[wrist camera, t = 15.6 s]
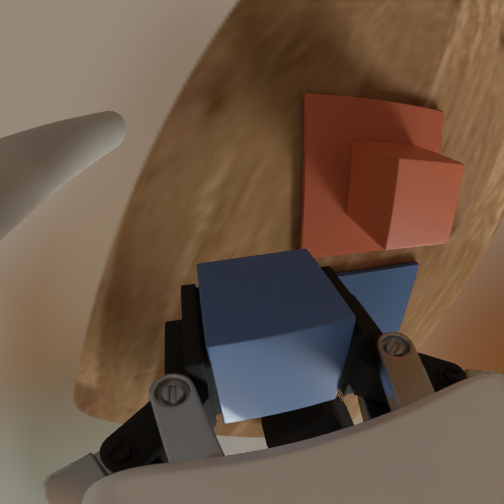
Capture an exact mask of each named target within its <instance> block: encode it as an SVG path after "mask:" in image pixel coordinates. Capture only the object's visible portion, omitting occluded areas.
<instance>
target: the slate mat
mask: <svg viewBox="0 0 504 504" xmlns="http://www.w3.org/2000/svg"><path fill="white" fill-rule="evenodd" d="M418 266H419V264H418V263H417V262H409V263H403V264H397V265H390V266H383V267H377V268H370V269H363V270H356V271H349V272H342V273H336V275H337V276H338V277H339V279H340V280H341V281H342V283H343V284H344V285H345V286H346V288H347V289H348V290H349V292H350V293H351V294H353V295H354V296H355V297H356V298H357V299H358V301H359V302H360V303H361V305H362V306H363V307H364V309H365V310H366V311H367V313H368V314H369V315H370V317H371V318H372V319H373V321H374V322H375V323H376V325H377V326H378V327H379V329H380V330H381V331H382V333H383V334H384V333H387V332H398V330H399V327H400V325H401V322H402V319H403V316H404V313H405V310H406V307H407V304H408V300H409V297H410V294H411V291H412V287H413V284H414V280H415V277H416V273H417V269H418Z"/></svg>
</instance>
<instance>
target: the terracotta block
mask: <svg viewBox="0 0 504 504" xmlns="http://www.w3.org/2000/svg"><path fill="white" fill-rule="evenodd" d="M463 168H464V164H463V163H461V162H458V161H456V160H453V159H451V158H448V157H446V156H443V155H440V154H438V153H435V152H432V151H430V150H427V149H424V148H421V147H419V146H416V145H410V144H400V143H389V142H376V141H361V140H353V144H352V159H351V172H350V184H349V194H348V204H347V213H346V214H347V216H348V217H349V218H350V219H351V220H353V221H354V222H355V223H356V224H357V225H358V226H359V227H360V228H361V229H363V230H364V231H365V232H366V233H367V234H368V235H369V236H370V237H371V238H372V239H373V240H374V241H375V242H377V243H378V244H379V245H380V246H381V247H382V248H383V249H384V250H392V249H401V248H410V247H418V246H427V245H435V244H443V243H448V240H449V236H450V232H451V228H452V224H453V220H454V216H455V211H456V207H457V202H458V197H459V192H460V186H461V181H462V175H463Z"/></svg>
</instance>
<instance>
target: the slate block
mask: <svg viewBox="0 0 504 504" xmlns="http://www.w3.org/2000/svg"><path fill="white" fill-rule="evenodd" d="M197 274H198V283H199V293H200V302H201V310H202V319H203V327H204V335H205V343H206V349H207V354H208V358H209V361H210V362H211V365H212V370H213V376H214V381H215V386H216V391H217V396H218V401H219V406H220V410H221V414H222V418H223V422H224V423H231V422H237V421H243V420H249V419H254V418H259V417H264V416H269V415H274V414H278V413H283V412H287V411H291V410H295V409H300V408H304V407H307V406H311V405H315V404H319V403H322V402H326V401H329V400H333V399H335V398H336V395H337V392H338V387H339V383H340V380H341V376H342V373H343V370H344V366H345V362H346V359H347V355H348V351H349V347H350V343H351V338H352V334H353V330H354V325H355V321H356V316H355V315H354V313H353V312H352V311H351V309H350V308H349V306H348V305H347V303H346V302H345V301H344V299H343V298H342V296H341V295H340V294H339V292H338V291H337V289H336V288H335V287H334V285H333V284H332V283H331V281H330V280H329V278H328V277H327V276H326V274H325V273H324V272H323V270H322V269H321V267H320V266H319V265H318V263H317V262H316V261H315V259H314V258H313V257H312V255H311V254H310V253H309V251H308V250H307V249H306V248H305V249H298V250H291V251H284V252H277V253H270V254H263V255H256V256H249V257H242V258H235V259H228V260H221V261H214V262H206V263H199V264H197Z"/></svg>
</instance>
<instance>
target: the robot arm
mask: <svg viewBox="0 0 504 504" xmlns="http://www.w3.org/2000/svg"><path fill="white" fill-rule="evenodd" d="M321 269H322V270H323V272H324V273H325V274H326V276H327V277H328V278H329V280H330V281H331V283H332V284H333V285H334V287H335V288H336V289H337V291H338V292H339V294H340V295H341V296H342V298H343V299H344V301H345V302H346V303H347V305H348V306H349V308H350V309H351V311H352V312H353V313H354V315H355V316H356V321H355V325H354V330H353V334H352V338H351V343H350V347H349V351H348V355H347V359H346V362H345V366H344V370H343V373H342V376H341V380H340V383H339V387H338V389H341V391H342V393H343V395H347V394H350V393H354V395H357V396H358V401H359V405H360V409H361V414H362V417H363V423H360V424H357V425H354V426H351V427H348V428H344V429H341V430H338V431H335V432H332V433H328V434H325V435H321V436H318V437H314V438H310V439H307V440H303V441H299V442H295V443H290V444H286V445H282V446H277V447H273V448H268V449H263V450H258V451H252V452H247V453H241V454H235V455H228V456H225V455H224V453H223V451H222V448H221V446H220V444H219V442H218V440H217V438H216V435H215V433H214V431H213V428H214V427H215V426H216V416H215V415H216V414H221V411H220V406H219V401H218V396H217V391H216V386H215V381H214V376H213V370H212V365H211V362H210V361H209V358H208V354H207V349H206V343H205V335H204V327H203V319H202V310H201V302H200V293H199V287H198V288H196V286H195V284H191V285H183V286H181V305H182V320H176V321H167V322H166V323H165V375H163V376H161V377H159V378H158V379H156V380H155V381H154V383H153V384H152V385H151V388H150V391H149V392H150V400H151V401H149V402H148V403H147V404H146V405H145V406H144V407H143V408H141V409H140V410H139V411H138V412H137V413H136V414H135V415H133V416H132V417H131V418H130V419H129V420H128V421H127V422H125V423H124V424H123V425H122V426H121V427H120V428H118V429H117V430H116V431H115V432H114V433H112V434H111V435H110V436H109V437H108V438H107V439H106V440H105V441H104V442H103V444H102V446H101V448H100V451H99V452H97V453H95V454H92V453H89V454H88V455H86V456H84V457H82V458H80V459H79V460H77V461H75V462H73V463H71V464H70V465H68V466H66V467H64V468H62V469H60V470H58V471H56V472H54V473H52V474H51V475H49V476H48V477H47V478H46V480H45V482H44V485H43V491H44V494H45V496H46V499H47V500H48V503H49V504H504V374H501V373H495V372H485V371H477V370H469V369H466V370H465V371H463V370H462V369H461V368H460V367H459V366H458V365H456V364H454V363H451V362H448V361H444V360H441V359H438V358H435V357H431V356H428V355H425V354H421V353H418V352H417V351H416V349H415V347H414V345H413V343H412V341H411V340H410V339H409V338H408V337H407V336H405V335H403V334H401V333H398V332H387V333H384V334H383V333H382V331H381V330H380V329H379V327H378V326H377V325H376V323H375V322H374V321H373V319H372V318H371V317H370V315H369V314H368V313H367V311H366V310H365V309H364V307H363V306H362V305H361V303H360V302H359V301H358V299H357V298H356V297H355V296H354V295H353V294H351V293H350V292H349V290H348V289H347V288H346V286H345V285H344V284H343V283H342V281H341V280H340V279H339V277H338V276H337V275H336V273H335V272H334V271H333V270H332V268H331V267H330V266H325V267H321Z"/></svg>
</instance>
